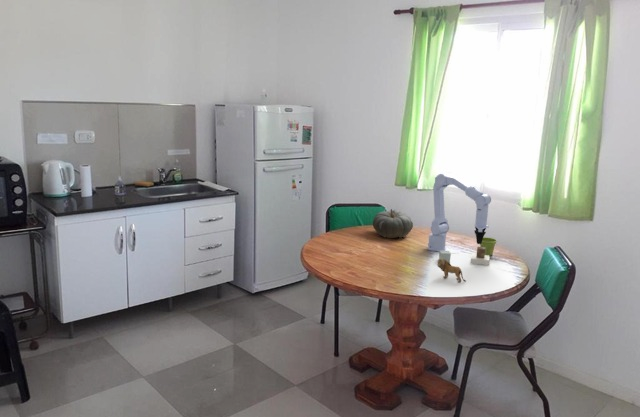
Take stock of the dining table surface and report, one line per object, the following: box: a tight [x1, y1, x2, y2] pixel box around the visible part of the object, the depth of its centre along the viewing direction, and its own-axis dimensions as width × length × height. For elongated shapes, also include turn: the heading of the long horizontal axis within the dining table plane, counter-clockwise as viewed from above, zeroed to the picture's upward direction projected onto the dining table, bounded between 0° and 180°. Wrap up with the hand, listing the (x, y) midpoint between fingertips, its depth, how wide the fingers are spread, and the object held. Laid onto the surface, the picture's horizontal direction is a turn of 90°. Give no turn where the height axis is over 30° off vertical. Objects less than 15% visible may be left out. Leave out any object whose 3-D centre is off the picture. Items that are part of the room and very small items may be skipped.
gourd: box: [372, 208, 414, 239], centre depth 308 cm, size 25×25×17 cm
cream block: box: [470, 253, 490, 266], centre depth 262 cm, size 9×9×3 cm
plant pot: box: [479, 236, 498, 257], centre depth 273 cm, size 9×9×9 cm
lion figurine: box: [436, 258, 467, 284], centre depth 235 cm, size 15×5×9 cm, turn 52°
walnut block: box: [476, 246, 485, 259], centre depth 261 cm, size 4×4×5 cm
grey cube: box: [438, 250, 452, 264], centre depth 262 cm, size 5×5×5 cm
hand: (479, 241), depth 262 cm, fingers open, 7 cm apart
